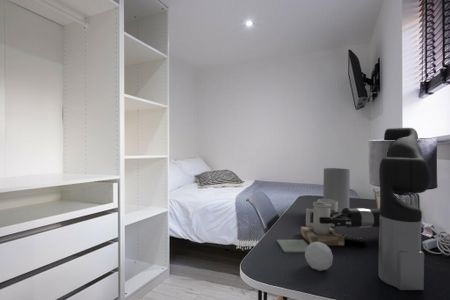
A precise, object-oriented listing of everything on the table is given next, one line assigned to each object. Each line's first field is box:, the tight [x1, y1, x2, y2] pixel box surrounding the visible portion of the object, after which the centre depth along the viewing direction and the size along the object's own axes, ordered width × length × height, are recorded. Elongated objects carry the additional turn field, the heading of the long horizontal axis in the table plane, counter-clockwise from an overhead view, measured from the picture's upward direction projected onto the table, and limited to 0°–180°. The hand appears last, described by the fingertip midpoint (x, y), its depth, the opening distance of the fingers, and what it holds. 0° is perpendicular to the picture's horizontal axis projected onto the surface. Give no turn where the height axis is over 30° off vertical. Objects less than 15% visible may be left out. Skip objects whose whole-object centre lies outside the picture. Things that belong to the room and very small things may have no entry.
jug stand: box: [300, 226, 345, 246], centre depth 95 cm, size 12×12×3 cm
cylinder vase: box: [322, 167, 351, 213], centre depth 128 cm, size 12×12×25 cm
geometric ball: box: [304, 242, 334, 272], centre depth 72 cm, size 8×8×8 cm
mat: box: [276, 239, 309, 254], centre depth 88 cm, size 10×10×1 cm
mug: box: [316, 198, 338, 228], centre depth 116 cm, size 12×9×11 cm
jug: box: [305, 201, 331, 235], centre depth 95 cm, size 7×9×14 cm
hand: (315, 217), depth 95 cm, fingers open, 7 cm apart
